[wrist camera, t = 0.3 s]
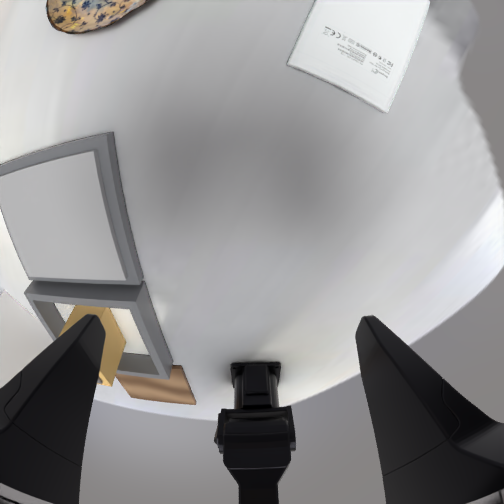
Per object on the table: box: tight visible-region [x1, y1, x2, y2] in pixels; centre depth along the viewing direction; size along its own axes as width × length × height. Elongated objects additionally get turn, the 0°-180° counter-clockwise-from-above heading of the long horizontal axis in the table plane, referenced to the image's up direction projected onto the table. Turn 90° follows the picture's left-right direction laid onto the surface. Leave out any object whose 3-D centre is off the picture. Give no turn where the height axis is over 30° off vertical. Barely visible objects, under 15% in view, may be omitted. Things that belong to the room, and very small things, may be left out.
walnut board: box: [115, 365, 196, 405], centre depth 37 cm, size 12×12×1 cm
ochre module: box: [59, 305, 126, 387], centre depth 26 cm, size 7×4×7 cm, turn 0°
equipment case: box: [0, 132, 173, 380], centre depth 24 cm, size 28×16×3 cm, turn 0°
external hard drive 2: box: [287, 0, 430, 113], centre depth 13 cm, size 2×8×12 cm
